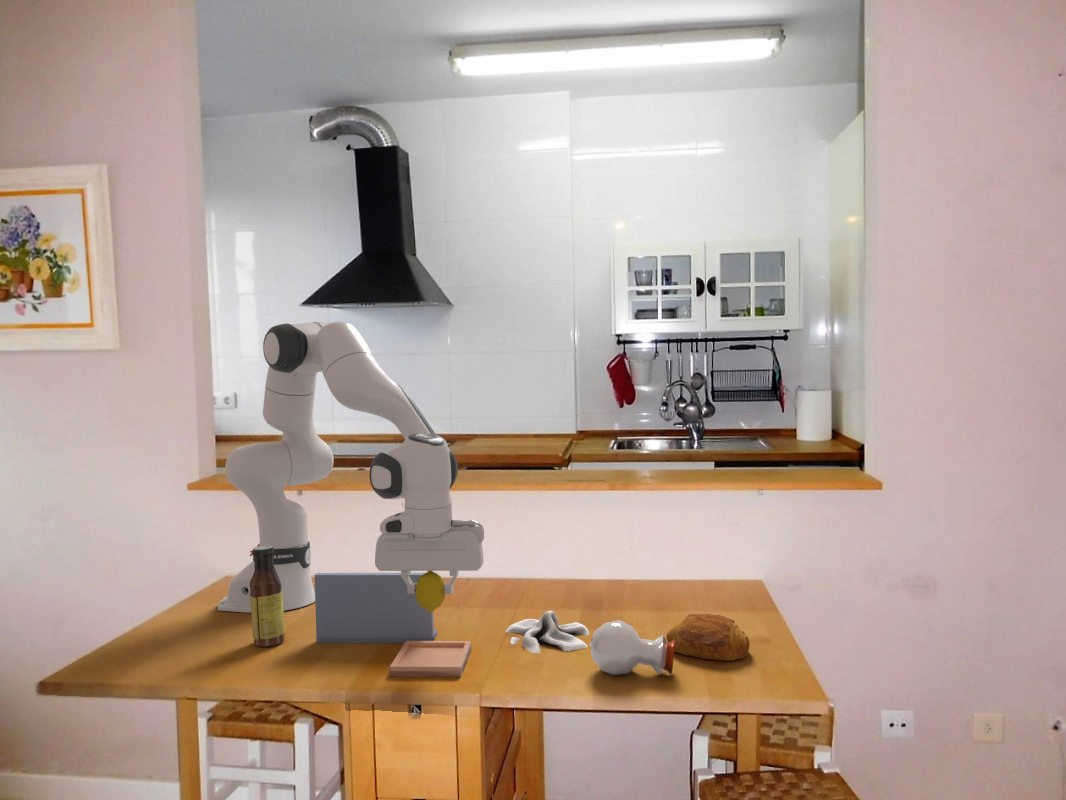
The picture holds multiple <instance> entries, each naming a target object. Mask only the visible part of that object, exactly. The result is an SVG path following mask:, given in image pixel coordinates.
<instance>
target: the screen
mask: <svg viewBox="0 0 1066 800" xmlns="http://www.w3.org/2000/svg"><path fill="white" fill-rule="evenodd" d="M425 573H426V572H411V573H410V574H409V577H410V578H411V580H412V582H413V583H417V582H418V579H419V578H420V577H421V576H422V575H423V574H425ZM314 591H315V601H314V602H315V627H316V628H315V629H316V630H315V631H316V633H315V634H316V643H317V644H318V643H319V644H320V643H321V644H322V643H325V644H326V643H329V644H330V643H333V644H334V643H335V644H337V643H338V644H339V643H342V644H343V643H344V644H347V643H348V644H349V643H350V644H353V643H355V644H357V643H358V644H404V643H405V642H406V641H435V639H436V637H437V635H438V629H434V628H435V627H434V621H435V620H434V611H433V612H431V613H430V612H429V611H428V610H426V609H424V608H422V607H421V606H420V605H419V603H418V602H417V599H416V594H408V593H407V585H406V583H405V582H404V580H403V579H402V577H401V572H316V573H315V574H314Z"/></svg>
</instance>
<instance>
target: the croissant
mask: <svg viewBox="0 0 1066 800" xmlns="http://www.w3.org/2000/svg"><path fill="white" fill-rule="evenodd" d="M665 639H666V641H667V643H668V642H671V641H673V640H674V639H675V649H674V653H676V652H678V653H677V654H680V653H682V654H681V655H684V654H685V655H684V656H688V655H690V656H689V657H693V656H694V658H698V657H700V658H699V659H704V658H705V659H706V660H707V659H708V660H715V661H727V662H729V661H730V660H731V661H737V660H739V659H742V658H743V659H744V658H746V657H747V655H748V653H749V650H750V638H749V637H748V635H746V633H745V631H744V630H743V629H741V628H740V626H739V625H737V624H736V622H735V621H734V620H733V619H731V618H730V617H726V616H724V615H720V614H712V613H690V614H688V615H687V616H685V618H683V619H682V620H681V621H680V622H678V623H677V624H675V625H674V626H672V627H671V628H670V629H669V630H668V631H667V633H666V636H665ZM743 659H742V660H743Z"/></svg>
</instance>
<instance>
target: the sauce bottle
mask: <svg viewBox="0 0 1066 800" xmlns="http://www.w3.org/2000/svg"><path fill="white" fill-rule="evenodd" d="M252 550H253V555H252V557H253V556H254V562H255V567H254V568H255V571H254V574H253V577H252V578H251V581H250V592H251V593H250V594H251V595H250V600H251V625H252V628H251V629H252V639H253V643H254V646H257V647H260V648H268V647H274V646H275V647H276V646H278V645H280V644H282V643H283V642H284V641H285V638H286V637H285V634H286V627H285V613H284V612H285V611H284V608H283V596H282V585H281V582H280V579H279V577H278V574H277V572H276V569H275V567H274V561H273V553H274V548H273V546H270V545H265V546H258V547H257V546H255V547H253V548H252Z"/></svg>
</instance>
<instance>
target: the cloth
mask: <svg viewBox="0 0 1066 800" xmlns="http://www.w3.org/2000/svg"><path fill="white" fill-rule="evenodd" d="M505 633H507V634H508V633H514V634H519V635H523V637H522V642H521V644H522V645H521V646H522V647H523V648H524V647H525V648H524V650H525V649H527V650H528V651H527V650H526V651H527V652H529V651H530V652H529V653H531V652H532V653H531V654H533V653H536V654H541V652H540V651H542V650H541V646H540V643H541V644H546V643H547V644H548V645H552V646H555V647H557V648H559V649H560V650H562V651H563V652H567V651H568V652H573V651H578V650H583V649H586V648H588V647H589V646H588V644H587V643H585V642H584V641H583V640H582V639H579V638H577V637H576V636H575V635H577V636H578V635H582V636H589V635H590V634H591V633H590V631H589V629H588V628H587V626H585V625H584V624H581V623H580V622H575V621H574V622H572V623H566V624H560V625H559V620H558V617H557V616H556V613H555V611H554V610H548V611H545V612H544V613H543V615H541V617H540V618H539V619H535V618H525V619H523V620H519V621H518V622H515V623H512V624H511V625H509V626H508V627H507V629H505ZM520 641H521V638H520V637H516V636H511V637H510V641H509V643H510V644H511V645H516V644H518V643H519V642H520ZM538 642H539V643H538ZM572 650H573V651H572Z"/></svg>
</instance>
